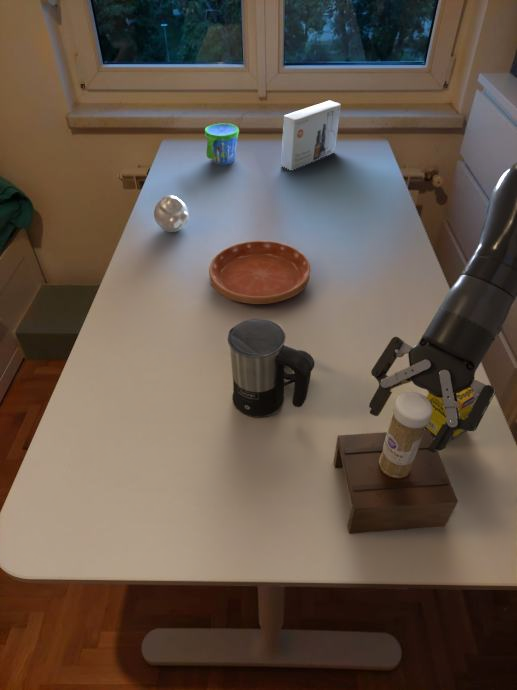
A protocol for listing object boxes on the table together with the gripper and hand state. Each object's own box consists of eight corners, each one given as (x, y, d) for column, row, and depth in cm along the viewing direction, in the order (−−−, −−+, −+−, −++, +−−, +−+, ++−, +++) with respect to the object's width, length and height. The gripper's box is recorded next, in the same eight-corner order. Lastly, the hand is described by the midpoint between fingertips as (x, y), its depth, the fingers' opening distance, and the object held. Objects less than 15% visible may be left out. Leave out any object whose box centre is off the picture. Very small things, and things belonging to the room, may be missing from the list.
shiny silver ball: (154, 240, 129) (148, 204, 122) (158, 221, 136) (153, 186, 129) (189, 239, 129) (185, 203, 122) (192, 220, 136) (188, 185, 129)
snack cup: (221, 173, 157) (219, 140, 150) (195, 165, 162) (192, 133, 155) (250, 156, 167) (249, 124, 160) (225, 149, 171) (223, 118, 164)
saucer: (189, 280, 116) (188, 267, 113) (259, 242, 128) (259, 229, 125) (260, 325, 104) (260, 311, 101) (329, 279, 116) (331, 265, 113)
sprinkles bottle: (371, 465, 71) (387, 403, 62) (391, 446, 73) (409, 384, 64) (398, 486, 69) (419, 425, 59) (417, 466, 71) (440, 404, 62)
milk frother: (227, 415, 87) (222, 353, 77) (241, 352, 98) (239, 291, 88) (309, 423, 85) (315, 362, 75) (314, 359, 97) (320, 298, 87)
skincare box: (292, 172, 157) (294, 119, 147) (280, 166, 160) (281, 115, 150) (336, 153, 168) (341, 103, 157) (324, 148, 171) (328, 99, 160)
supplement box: (444, 447, 82) (462, 404, 74) (416, 423, 85) (431, 379, 78) (468, 431, 84) (488, 387, 76) (441, 408, 88) (457, 364, 80)
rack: (419, 456, 80) (429, 428, 75) (445, 526, 72) (458, 500, 67) (333, 461, 80) (337, 434, 75) (348, 534, 71) (354, 508, 66)
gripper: (410, 289, 62) (345, 401, 64) (524, 341, 55) (448, 466, 57) (422, 303, 69) (363, 405, 71) (526, 351, 62) (458, 463, 64)
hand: (401, 432), depth 64 cm, fingers open, 8 cm apart
